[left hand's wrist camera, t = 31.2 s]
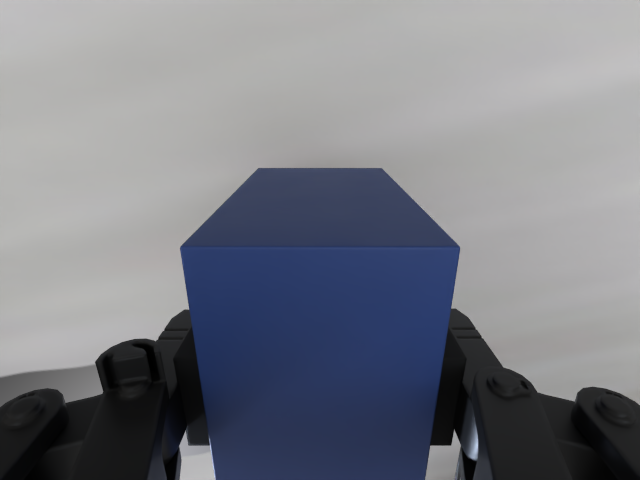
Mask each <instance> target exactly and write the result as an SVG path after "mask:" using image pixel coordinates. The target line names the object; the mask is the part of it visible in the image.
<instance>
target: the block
mask: <svg viewBox="0 0 640 480" xmlns="http://www.w3.org/2000/svg"><path fill="white" fill-rule="evenodd" d="M180 251H181V257H182V264H183V270H184V277H185V284H186V290H187V297H188V303H189V310H190V316H191V323H192V330H193V336H194V343H195V349H196V356H197V363H198V369H199V376H200V382H201V389H202V395H203V402H204V409H205V415H206V422H207V428H208V435H209V442H210V448H211V455H212V461H213V468H214V475H215V480H425V476H426V469H427V463H428V456H429V450H430V443H431V436H432V430H433V423H434V417H435V410H436V404H437V397H438V390H439V384H440V377H441V371H442V364H443V358H444V351H445V345H446V338H447V331H448V325H449V318H450V312H451V305H452V299H453V292H454V285H455V279H456V272H457V266H458V259H459V253H460V246H459V245H458V244H457V243H456V242H455V241H454V240H453V239H452V238H451V237H450V236H449V235H448V234H447V233H446V232H445V231H444V230H443V229H442V228H441V227H440V226H439V225H438V224H437V223H436V222H435V221H434V220H433V219H432V218H431V217H430V216H429V215H428V214H427V213H426V212H425V211H424V210H423V209H422V208H421V207H420V206H419V205H418V204H417V203H416V202H415V201H414V200H413V199H412V198H411V197H410V196H409V195H408V194H407V193H406V192H405V191H404V190H403V189H402V188H401V187H400V186H399V185H398V184H397V183H396V182H395V181H394V180H393V179H392V178H391V177H390V176H389V175H388V174H387V173H386V172H385V171H384V170H383V169H382V168H258V169H257V170H256V171H255V172H254V173H253V174H252V175H251V176H250V177H249V178H248V179H247V180H246V181H245V182H244V183H243V184H242V185H241V186H240V187H239V188H238V189H237V190H236V191H235V192H234V193H233V194H232V195H231V196H230V197H229V198H228V199H227V200H226V201H225V202H224V203H223V204H222V205H221V206H220V207H219V208H218V209H217V210H216V211H215V212H214V214H213V215H212V216H211V217H210V218H209V219H208V220H207V221H206V222H205V223H204V224H203V225H202V226H201V227H200V228H199V229H198V230H197V231H196V232H195V233H194V234H193V235H192V236H191V237H190V238H189V239H188V240H187V241H186V242H185V243H184V244H183V245H182V246H181V247H180Z"/></svg>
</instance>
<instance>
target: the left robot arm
mask: <svg viewBox="0 0 640 480" xmlns="http://www.w3.org/2000/svg"><path fill="white" fill-rule="evenodd" d="M95 363H96V367H97V370H98V374H99V377H100V381H101V385H102V388H103V394H101V395H97V396H94V397H90V398H86V399H82V400H77V401H73V402H68V403H65V400H64V397H63V394H62V393H60V392H59V391H58V390H55V389H48V388H47V389H40V390H34V391H31V392H28V393H25V394H22V395H20V396H18V397H16V398H14V399H12V400H10V401H9V402H7V403H5V404H4V405H3V406H1V407H0V480H179V479H180V469H181V454H180V448H179V445H180V442H181V440H182V438H183V435H184V433H185V430H186V434H187V439H188V445H210V442H209V435H208V428H207V422H206V415H205V409H204V402H203V395H202V389H201V382H200V376H199V369H198V363H197V356H196V349H195V343H194V336H193V330H192V323H191V316H190V310H183V311H182V312H180V313H179V314H178V315H176V316H175V317H173V318H172V319H171V320H170V322H169V323H168V325H167V326H166V328H165V330H164V331H163V332H162V333H161V335H160V336H159V339H158V340H156V342H155V341H153V340H149V339H133V340H129V341H125V342H122V343H119V344H117V345H115V346H113V347H111V348H109V349H108V350H106V351H105V352H104V353H102V354H101V355H100V356H99V358H98V359H97V360H96V362H95ZM454 429H455V432H456V434H457V436H458V439H459V441H460V444H461V448H460V453H459V459H458V464H457V469H456V474H455V480H460V478H461V480H640V405H638V404H637V403H636V402H635V401H633V400H631V399H629V398H627V397H625V396H624V395H622V394H620V393H617V392H614V391H611V390H608V389H604V388H597V387H588V388H583V389H582V390H580V391H579V392H578V393H577V396H576V399H575V402H574V401H570V400H565V399H561V398H557V397H552V396H548V395H544V394H541V393H538V392H537V391H536V389H535V388H534V386H533V385H532V383H531V382H529V381H528V380H527V379H526V378H525V377H523V376H522V375H520V374H518V373H516V372H514V371H512V370H510V369H506V368H503V366H502V365H501V363H500V362H499V361H498V359H497V358H496V356H495V355H494V353H493V352H492V351H491V349H490V348H489V346H488V345H487V344H486V342H485V341H484V339H482V338H481V335H480V334H479V332H478V331H477V330H476V329H475V326H474V325H473V324H472V322H471V321H470V319H469V318H468V317H467V316H465V315H464V314H463V313H461V312H460V311H458V310H457V309H451V312H450V318H449V325H448V331H447V338H446V345H445V351H444V358H443V364H442V371H441V377H440V384H439V390H438V397H437V404H436V410H435V417H434V423H433V430H432V436H431V443H430V445H451V444H452V438H453V432H454Z"/></svg>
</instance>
